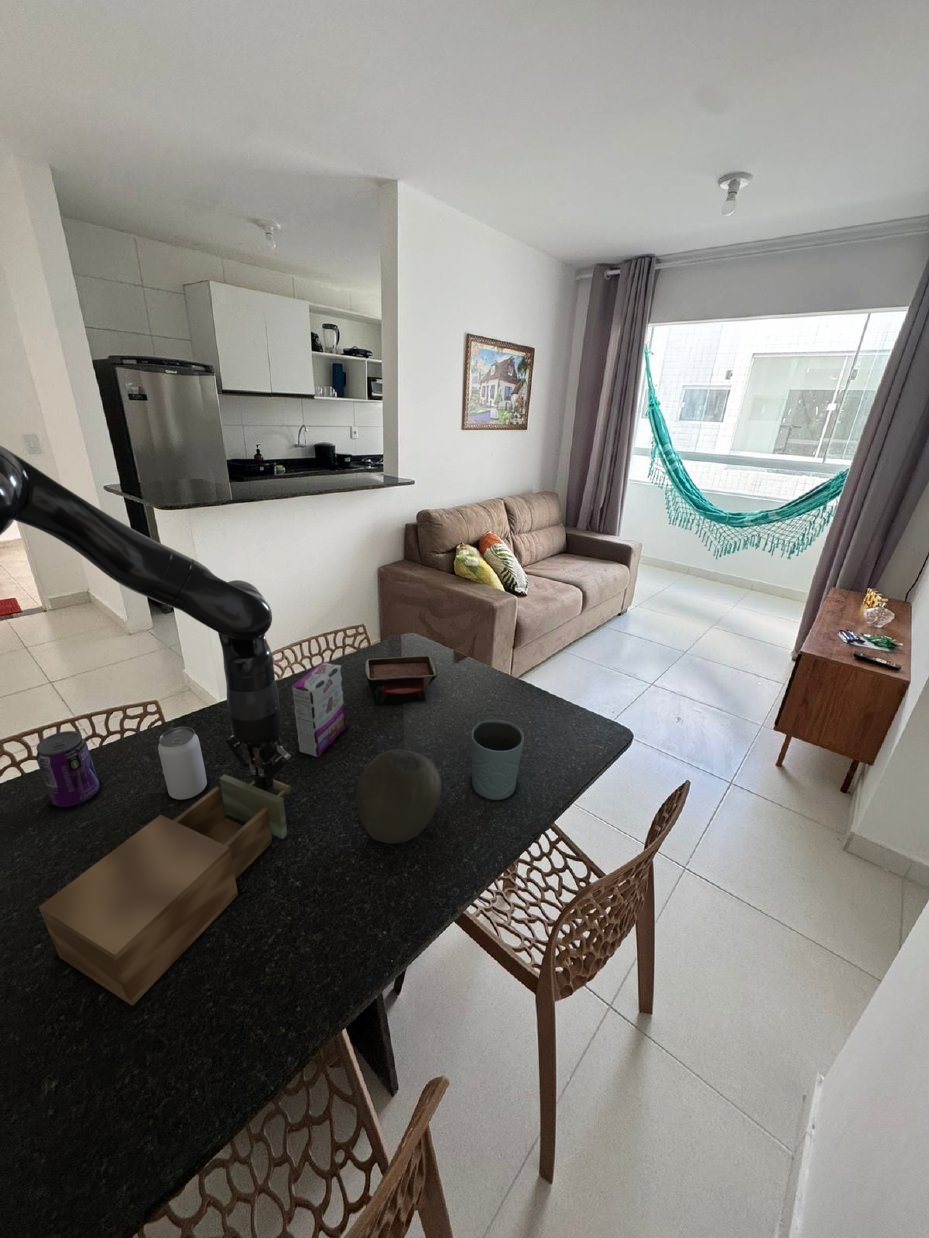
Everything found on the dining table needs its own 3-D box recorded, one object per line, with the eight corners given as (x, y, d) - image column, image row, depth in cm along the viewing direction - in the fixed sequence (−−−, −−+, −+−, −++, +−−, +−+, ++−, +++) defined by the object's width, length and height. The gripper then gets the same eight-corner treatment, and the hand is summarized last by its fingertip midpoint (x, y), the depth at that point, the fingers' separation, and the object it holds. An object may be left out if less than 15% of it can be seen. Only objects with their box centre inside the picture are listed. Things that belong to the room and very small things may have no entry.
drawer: (251, 791, 95) (246, 757, 91) (306, 814, 90) (303, 779, 87) (150, 878, 77) (139, 839, 74) (212, 911, 73) (204, 872, 70)
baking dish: (371, 682, 137) (364, 651, 132) (437, 673, 138) (433, 642, 133) (369, 717, 125) (361, 684, 120) (441, 706, 126) (436, 673, 121)
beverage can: (101, 800, 92) (84, 746, 87) (51, 815, 88) (31, 760, 83) (99, 776, 97) (84, 724, 92) (53, 790, 94) (34, 737, 89)
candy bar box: (326, 723, 116) (322, 660, 110) (346, 728, 115) (342, 664, 108) (297, 752, 107) (290, 685, 100) (317, 758, 105) (312, 690, 99)
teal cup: (496, 810, 95) (502, 759, 90) (456, 783, 101) (459, 733, 96) (528, 783, 102) (534, 734, 97) (489, 760, 108) (493, 712, 103)
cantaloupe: (418, 873, 82) (420, 801, 76) (341, 845, 86) (337, 775, 80) (450, 812, 94) (454, 746, 88) (382, 790, 98) (381, 726, 92)
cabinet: (172, 860, 81) (160, 814, 77) (238, 894, 77) (229, 847, 73) (59, 957, 67) (38, 906, 63) (132, 1006, 62) (114, 954, 58)
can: (209, 773, 100) (199, 722, 95) (205, 797, 94) (194, 744, 89) (172, 779, 98) (160, 728, 93) (165, 804, 92) (152, 750, 87)
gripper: (203, 705, 80) (218, 790, 87) (269, 729, 76) (280, 817, 83) (240, 683, 87) (251, 764, 94) (303, 704, 82) (310, 787, 89)
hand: (264, 789), depth 88 cm, fingers closed
